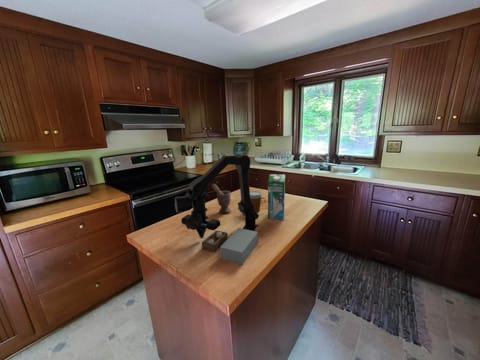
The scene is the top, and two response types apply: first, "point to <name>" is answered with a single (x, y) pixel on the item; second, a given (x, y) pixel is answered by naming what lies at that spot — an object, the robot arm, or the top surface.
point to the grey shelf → (239, 246)
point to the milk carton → (276, 196)
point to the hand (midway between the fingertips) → (201, 238)
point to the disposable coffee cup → (256, 200)
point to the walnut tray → (214, 241)
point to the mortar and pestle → (223, 199)
